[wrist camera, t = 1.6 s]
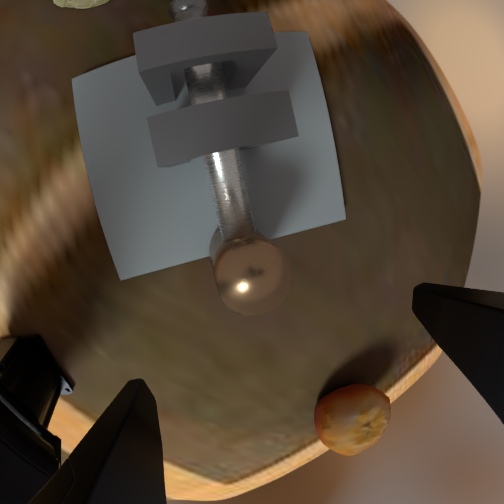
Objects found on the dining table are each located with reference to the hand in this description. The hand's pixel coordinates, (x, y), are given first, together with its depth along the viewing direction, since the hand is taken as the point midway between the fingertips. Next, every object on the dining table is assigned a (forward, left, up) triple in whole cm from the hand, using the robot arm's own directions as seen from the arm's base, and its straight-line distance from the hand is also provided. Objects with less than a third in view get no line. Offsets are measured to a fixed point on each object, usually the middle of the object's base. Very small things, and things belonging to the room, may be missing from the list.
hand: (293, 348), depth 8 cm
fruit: (-20, -7, -12) cm, 25 cm away
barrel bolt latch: (+7, 0, -12) cm, 14 cm away
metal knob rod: (+7, 0, -11) cm, 13 cm away
